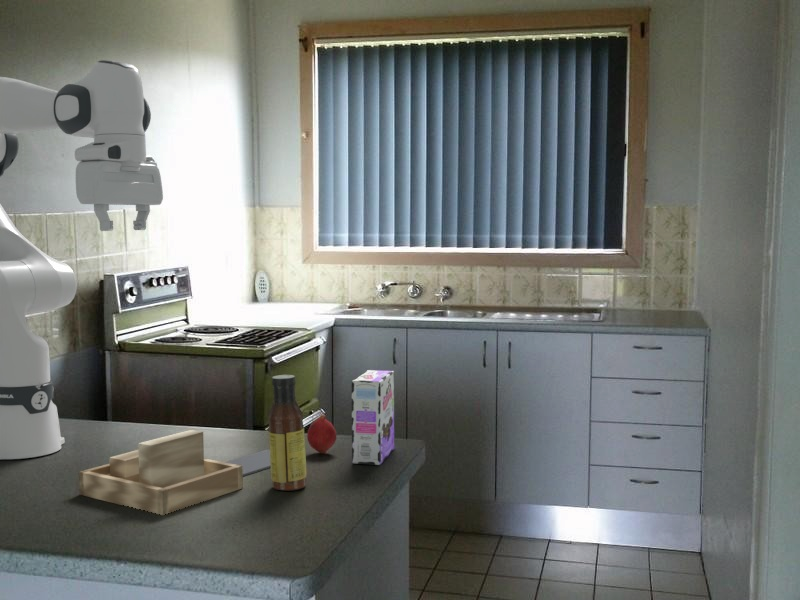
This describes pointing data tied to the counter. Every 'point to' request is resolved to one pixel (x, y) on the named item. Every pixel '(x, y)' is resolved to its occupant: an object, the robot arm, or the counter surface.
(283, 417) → the sauce bottle
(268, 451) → the felt pad
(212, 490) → the wooden tray
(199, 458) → the pale wooden block
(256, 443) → the counter surface
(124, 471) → the offcut beech
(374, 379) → the candy box
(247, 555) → the counter surface
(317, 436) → the onion
